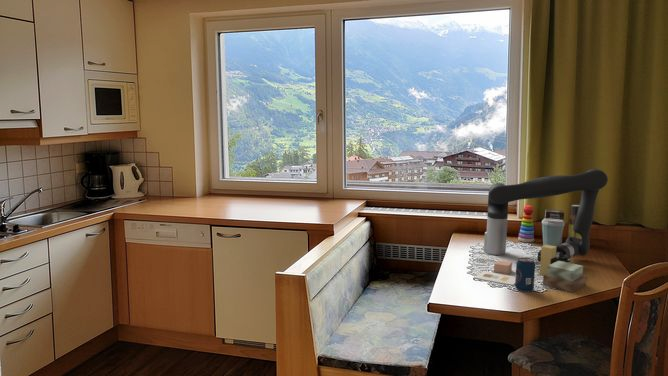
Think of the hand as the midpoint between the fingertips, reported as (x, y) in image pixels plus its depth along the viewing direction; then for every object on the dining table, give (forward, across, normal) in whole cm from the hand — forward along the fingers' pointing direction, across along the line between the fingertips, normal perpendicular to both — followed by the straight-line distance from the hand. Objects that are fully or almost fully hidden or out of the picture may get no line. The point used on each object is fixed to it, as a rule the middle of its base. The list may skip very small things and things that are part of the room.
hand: (545, 260), depth 240 cm
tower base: (+6, +11, +6) cm, 14 cm away
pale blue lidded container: (-59, -22, +7) cm, 63 cm away
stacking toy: (-50, -32, +7) cm, 59 cm away
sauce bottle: (-62, -12, +7) cm, 63 cm away
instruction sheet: (+17, -12, +6) cm, 22 cm away
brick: (+7, -15, +7) cm, 18 cm away
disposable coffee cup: (-44, -16, +7) cm, 47 cm away
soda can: (+22, +2, +7) cm, 23 cm away
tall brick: (-3, 0, +6) cm, 7 cm away
